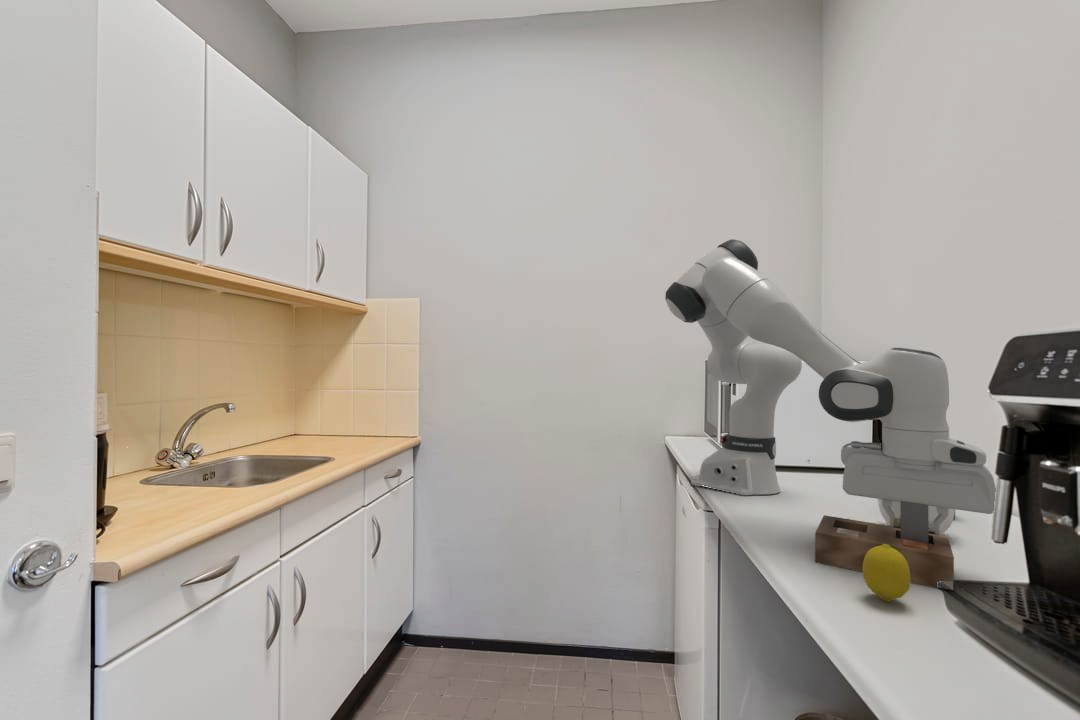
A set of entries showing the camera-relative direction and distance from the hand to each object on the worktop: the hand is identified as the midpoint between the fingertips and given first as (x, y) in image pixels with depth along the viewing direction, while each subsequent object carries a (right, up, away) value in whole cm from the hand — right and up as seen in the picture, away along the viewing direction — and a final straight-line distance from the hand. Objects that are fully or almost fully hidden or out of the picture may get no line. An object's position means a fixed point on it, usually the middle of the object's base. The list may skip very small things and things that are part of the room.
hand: (914, 530), depth 82 cm
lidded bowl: (+13, -7, +17) cm, 22 cm away
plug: (0, -4, 0) cm, 4 cm away
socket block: (-5, -6, +1) cm, 8 cm away
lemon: (-13, -6, -12) cm, 19 cm away
